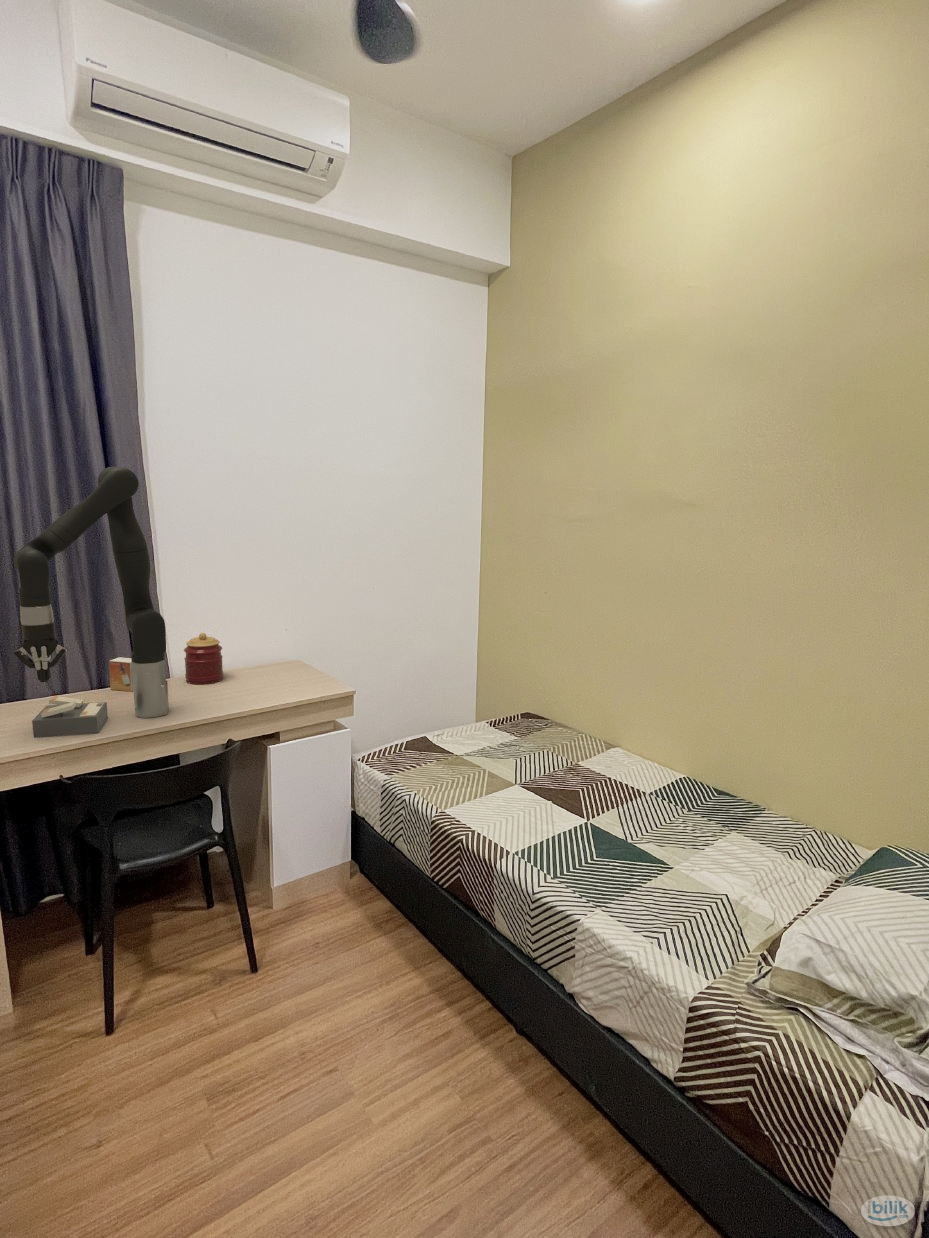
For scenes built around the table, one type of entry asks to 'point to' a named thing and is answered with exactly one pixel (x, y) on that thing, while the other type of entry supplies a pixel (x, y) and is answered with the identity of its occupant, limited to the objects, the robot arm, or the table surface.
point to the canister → (203, 660)
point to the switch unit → (71, 721)
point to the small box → (121, 674)
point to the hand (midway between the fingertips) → (44, 681)
